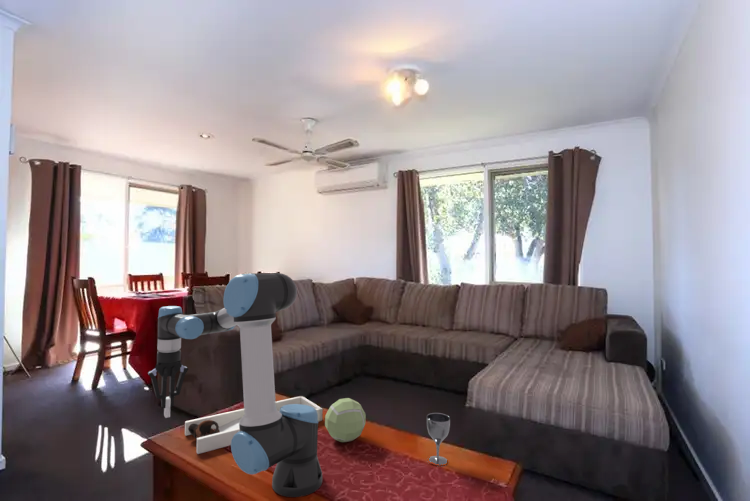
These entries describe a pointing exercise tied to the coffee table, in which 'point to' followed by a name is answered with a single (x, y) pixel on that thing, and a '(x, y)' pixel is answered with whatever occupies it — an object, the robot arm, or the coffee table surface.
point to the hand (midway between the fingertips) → (167, 416)
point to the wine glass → (438, 433)
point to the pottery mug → (203, 428)
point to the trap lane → (235, 425)
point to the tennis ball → (345, 420)
